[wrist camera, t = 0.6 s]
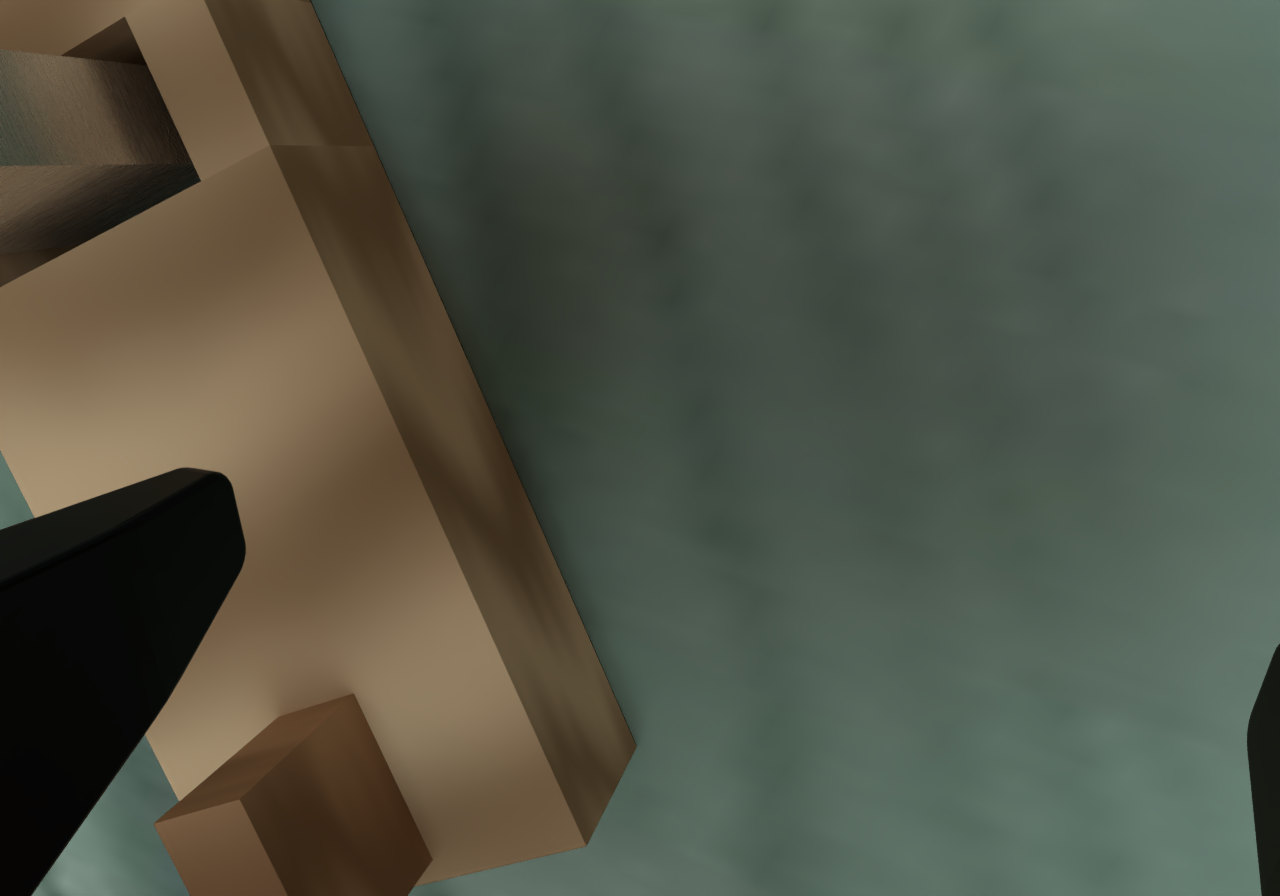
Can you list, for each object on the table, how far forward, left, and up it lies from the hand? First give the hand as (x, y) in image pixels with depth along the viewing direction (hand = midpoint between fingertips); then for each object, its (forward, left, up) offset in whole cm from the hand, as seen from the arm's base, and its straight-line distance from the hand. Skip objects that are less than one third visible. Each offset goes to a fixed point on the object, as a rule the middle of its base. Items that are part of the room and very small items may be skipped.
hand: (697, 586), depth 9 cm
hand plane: (-6, +11, -14) cm, 19 cm away
